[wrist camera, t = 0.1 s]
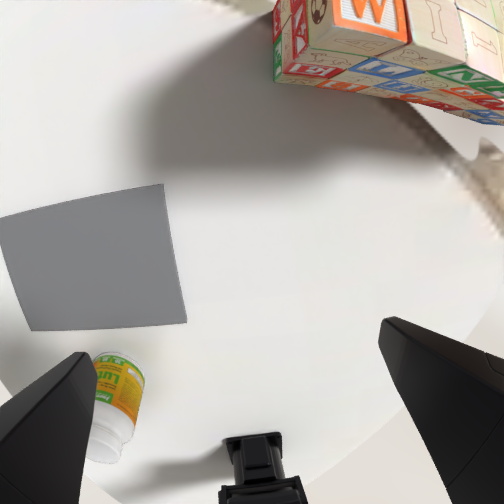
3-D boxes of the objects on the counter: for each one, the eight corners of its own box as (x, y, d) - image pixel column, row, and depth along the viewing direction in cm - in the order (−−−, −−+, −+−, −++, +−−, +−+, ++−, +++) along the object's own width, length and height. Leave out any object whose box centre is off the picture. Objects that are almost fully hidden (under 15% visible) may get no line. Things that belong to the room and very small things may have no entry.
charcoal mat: (187, 318, 24) (186, 322, 24) (33, 327, 23) (31, 331, 23) (162, 183, 20) (161, 184, 20) (-2, 218, 19) (-6, 220, 19)
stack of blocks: (480, 67, 19) (575, 62, 7) (482, 125, 21) (582, 139, 10) (270, 10, 17) (320, -89, 5) (270, 84, 19) (333, 23, 7)
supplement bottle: (129, 345, 25) (102, 429, 16) (155, 386, 27) (142, 467, 18) (84, 355, 25) (49, 430, 16) (111, 393, 27) (90, 468, 18)
